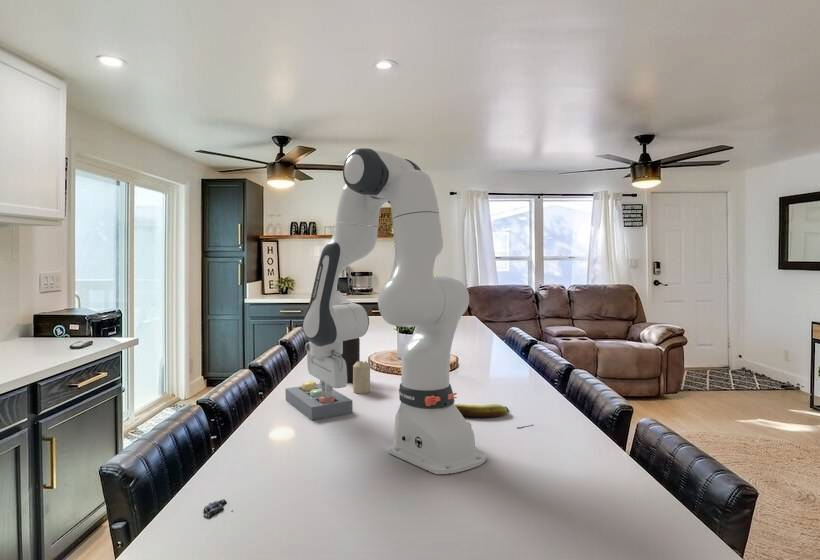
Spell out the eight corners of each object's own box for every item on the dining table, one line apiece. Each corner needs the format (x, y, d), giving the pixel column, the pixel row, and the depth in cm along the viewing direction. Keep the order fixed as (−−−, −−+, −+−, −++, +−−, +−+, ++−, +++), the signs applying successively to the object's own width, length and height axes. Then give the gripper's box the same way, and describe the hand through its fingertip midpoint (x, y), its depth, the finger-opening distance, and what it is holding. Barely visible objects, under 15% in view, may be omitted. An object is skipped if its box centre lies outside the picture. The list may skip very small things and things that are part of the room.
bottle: (338, 379, 167) (338, 324, 167) (356, 377, 170) (356, 323, 169) (343, 383, 161) (343, 326, 160) (362, 381, 164) (362, 325, 163)
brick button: (336, 408, 129) (336, 397, 129) (322, 410, 127) (322, 399, 127) (330, 404, 133) (330, 393, 133) (317, 406, 130) (316, 396, 130)
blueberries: (244, 503, 82) (245, 492, 82) (227, 525, 74) (227, 513, 74) (206, 503, 82) (207, 492, 82) (185, 525, 74) (185, 513, 74)
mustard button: (318, 393, 141) (318, 383, 141) (304, 395, 139) (304, 385, 139) (313, 390, 144) (312, 380, 144) (300, 392, 142) (299, 382, 142)
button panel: (352, 412, 130) (352, 400, 130) (311, 420, 123) (311, 407, 123) (322, 393, 148) (322, 383, 148) (285, 399, 142) (285, 388, 142)
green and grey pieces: (423, 435, 114) (423, 420, 114) (414, 402, 142) (414, 390, 142) (561, 432, 117) (561, 417, 117) (526, 400, 144) (526, 388, 144)
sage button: (327, 401, 135) (327, 391, 135) (313, 404, 133) (313, 393, 133) (321, 398, 139) (321, 388, 139) (308, 400, 136) (308, 390, 136)
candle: (371, 389, 154) (371, 359, 154) (368, 394, 148) (368, 363, 148) (355, 388, 154) (355, 359, 154) (351, 393, 149) (351, 362, 149)
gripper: (353, 352, 122) (353, 404, 123) (323, 341, 139) (323, 386, 140) (331, 355, 119) (331, 408, 119) (303, 343, 136) (303, 389, 137)
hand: (326, 396), depth 130 cm, fingers closed, pressing on brick button
